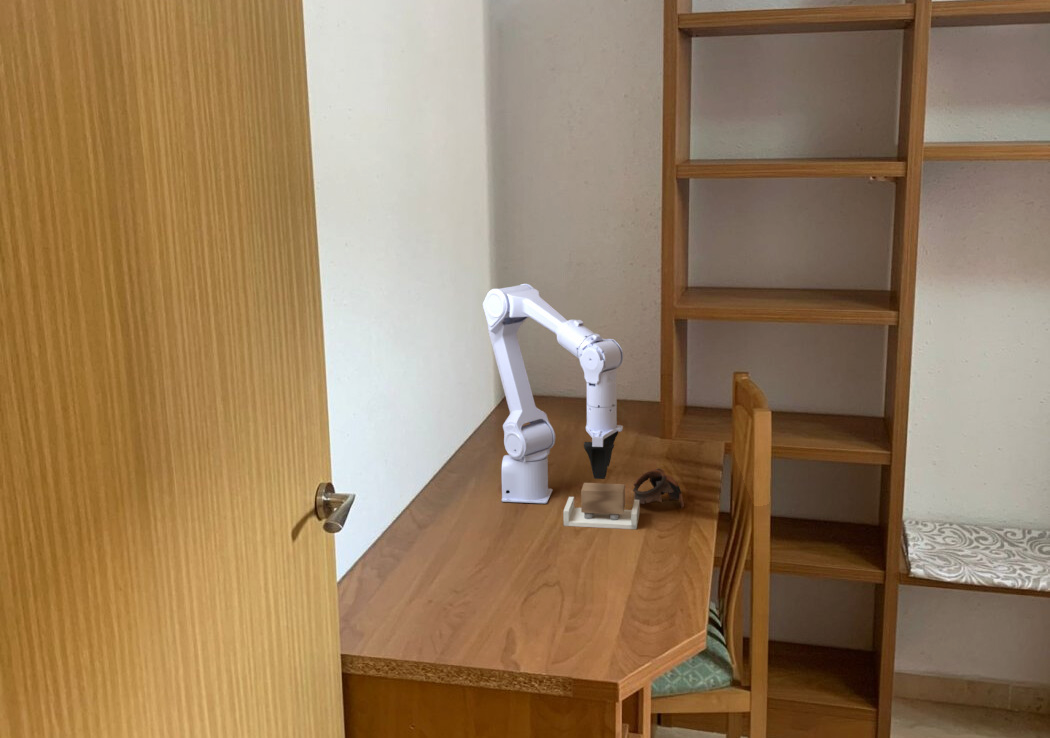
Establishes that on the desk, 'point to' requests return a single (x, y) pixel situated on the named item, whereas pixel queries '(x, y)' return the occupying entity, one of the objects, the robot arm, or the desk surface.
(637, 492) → the pottery mug
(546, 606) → the desk surface
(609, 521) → the peg stand
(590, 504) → the tan rectangular block
